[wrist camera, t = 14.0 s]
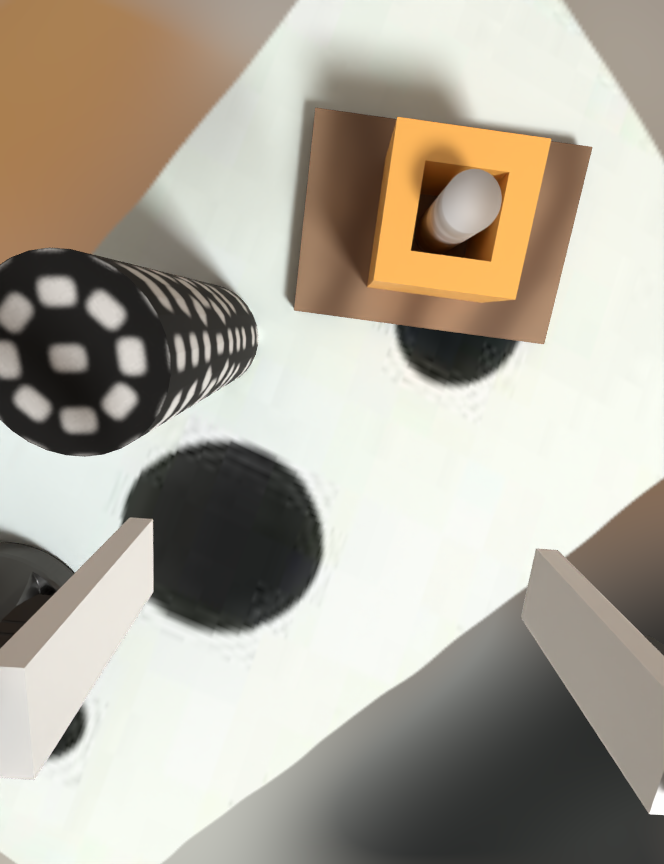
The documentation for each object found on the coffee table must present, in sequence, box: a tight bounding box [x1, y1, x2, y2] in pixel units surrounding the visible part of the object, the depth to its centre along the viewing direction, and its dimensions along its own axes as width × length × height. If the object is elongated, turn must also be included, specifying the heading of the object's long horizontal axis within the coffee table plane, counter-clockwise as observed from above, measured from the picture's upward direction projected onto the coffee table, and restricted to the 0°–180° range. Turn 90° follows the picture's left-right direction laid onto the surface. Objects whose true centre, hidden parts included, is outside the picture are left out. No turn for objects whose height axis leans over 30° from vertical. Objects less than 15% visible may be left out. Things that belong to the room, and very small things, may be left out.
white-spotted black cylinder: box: [0, 248, 258, 456], centre depth 28 cm, size 8×8×20 cm
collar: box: [367, 117, 551, 303], centre depth 30 cm, size 9×9×7 cm
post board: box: [294, 108, 592, 344], centre depth 30 cm, size 20×14×11 cm
